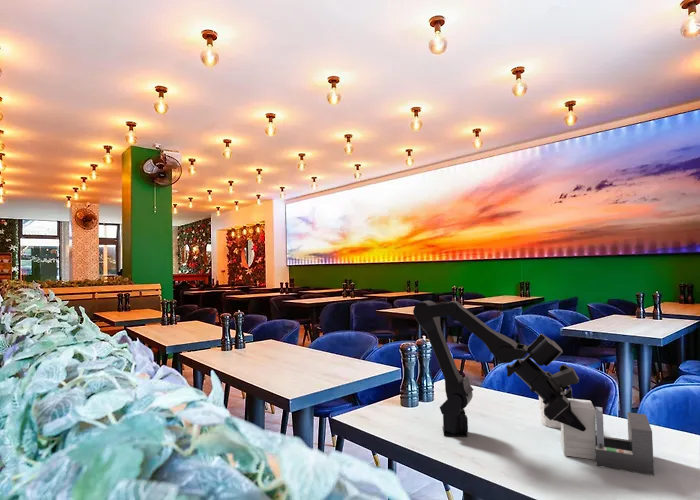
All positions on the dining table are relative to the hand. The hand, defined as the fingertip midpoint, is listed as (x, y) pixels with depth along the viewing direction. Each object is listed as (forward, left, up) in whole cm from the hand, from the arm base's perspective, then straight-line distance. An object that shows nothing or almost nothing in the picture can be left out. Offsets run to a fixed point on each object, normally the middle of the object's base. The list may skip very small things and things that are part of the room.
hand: (584, 423), depth 113 cm
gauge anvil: (+7, -3, -7) cm, 11 cm away
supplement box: (-2, 0, -8) cm, 8 cm away
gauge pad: (+3, -2, -6) cm, 7 cm away
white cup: (-2, +20, -8) cm, 22 cm away
